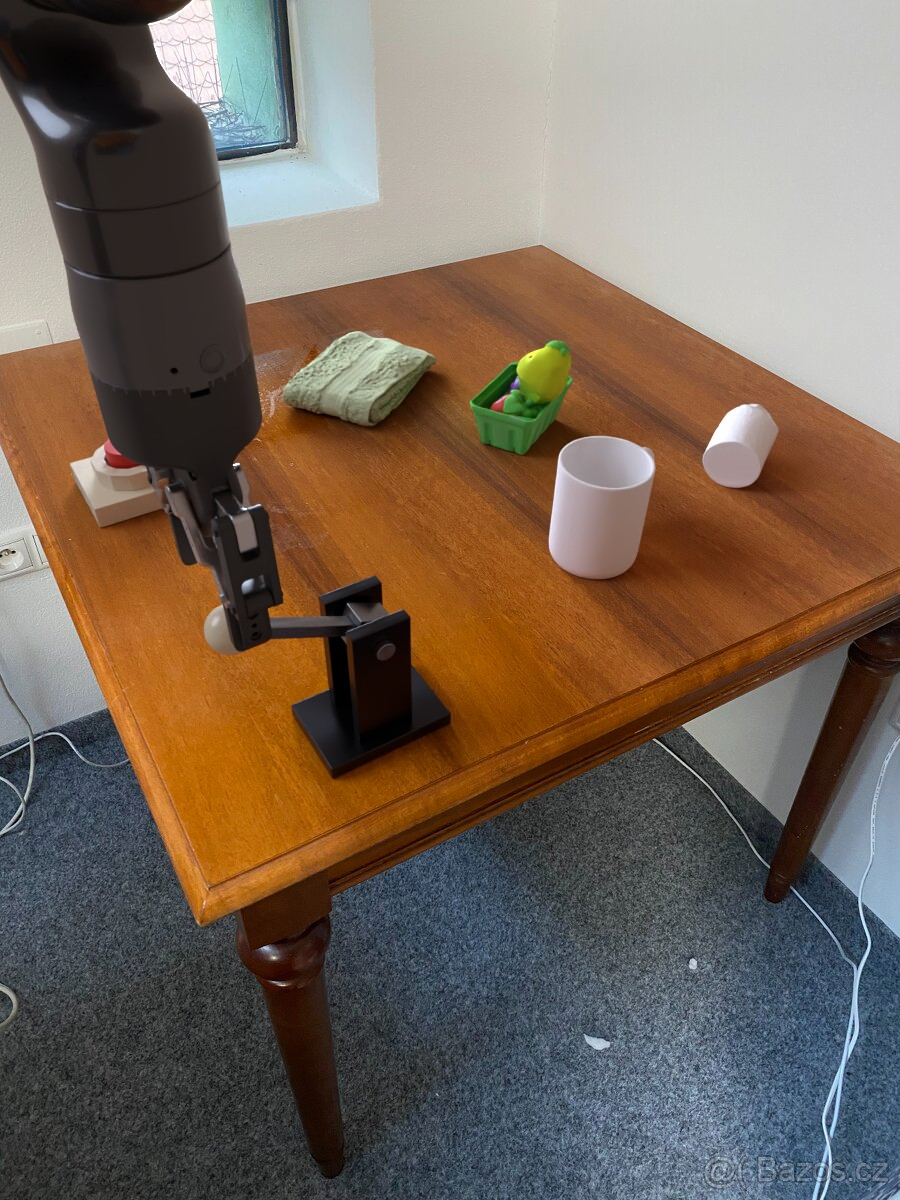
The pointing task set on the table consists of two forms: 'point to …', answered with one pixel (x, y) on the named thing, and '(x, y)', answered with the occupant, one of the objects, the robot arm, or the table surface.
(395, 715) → the bracket
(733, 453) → the white bottle
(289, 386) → the washcloth
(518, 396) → the fruit basket
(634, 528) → the cup
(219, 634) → the lever
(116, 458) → the button
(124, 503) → the button box
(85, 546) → the table surface
